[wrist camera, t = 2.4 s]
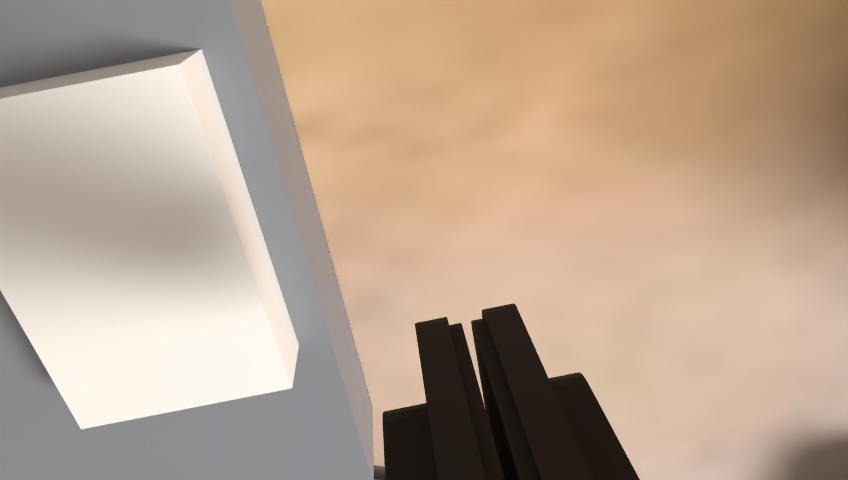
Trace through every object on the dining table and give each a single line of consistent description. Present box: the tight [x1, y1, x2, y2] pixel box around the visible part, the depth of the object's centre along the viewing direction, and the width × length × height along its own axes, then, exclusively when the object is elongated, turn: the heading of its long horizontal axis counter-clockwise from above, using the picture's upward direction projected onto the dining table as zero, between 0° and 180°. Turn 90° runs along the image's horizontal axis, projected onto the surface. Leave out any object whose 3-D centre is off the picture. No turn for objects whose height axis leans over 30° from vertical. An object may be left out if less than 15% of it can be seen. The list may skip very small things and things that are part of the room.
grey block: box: [0, 0, 374, 480], centre depth 18 cm, size 22×14×4 cm, turn 10°
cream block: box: [0, 49, 299, 429], centre depth 16 cm, size 9×6×2 cm, turn 10°
